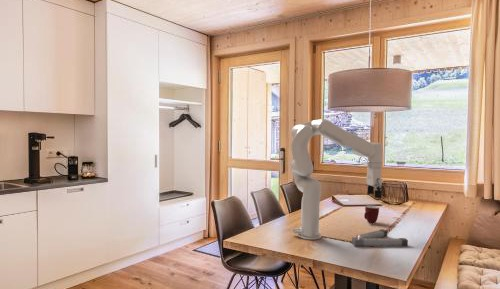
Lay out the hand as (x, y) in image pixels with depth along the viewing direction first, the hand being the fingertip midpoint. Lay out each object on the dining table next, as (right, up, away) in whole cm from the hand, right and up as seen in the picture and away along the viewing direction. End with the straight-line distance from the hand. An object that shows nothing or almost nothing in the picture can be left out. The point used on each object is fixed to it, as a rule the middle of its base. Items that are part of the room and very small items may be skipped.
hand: (374, 195), depth 193 cm
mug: (+5, -20, +22) cm, 30 cm away
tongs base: (-4, -22, -18) cm, 29 cm away
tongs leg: (-4, -21, -9) cm, 24 cm away
